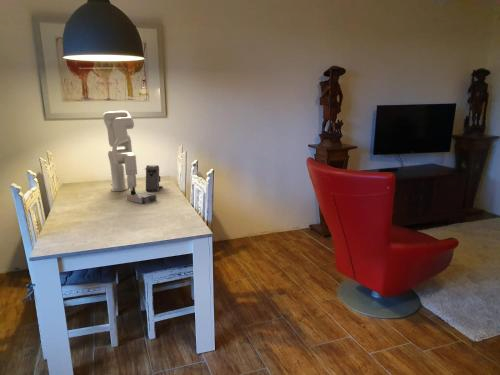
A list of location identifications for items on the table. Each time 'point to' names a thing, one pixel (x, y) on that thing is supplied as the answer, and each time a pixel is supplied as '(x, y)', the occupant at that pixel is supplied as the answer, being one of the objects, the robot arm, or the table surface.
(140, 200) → the side door
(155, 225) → the table surface
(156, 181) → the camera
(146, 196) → the housing
